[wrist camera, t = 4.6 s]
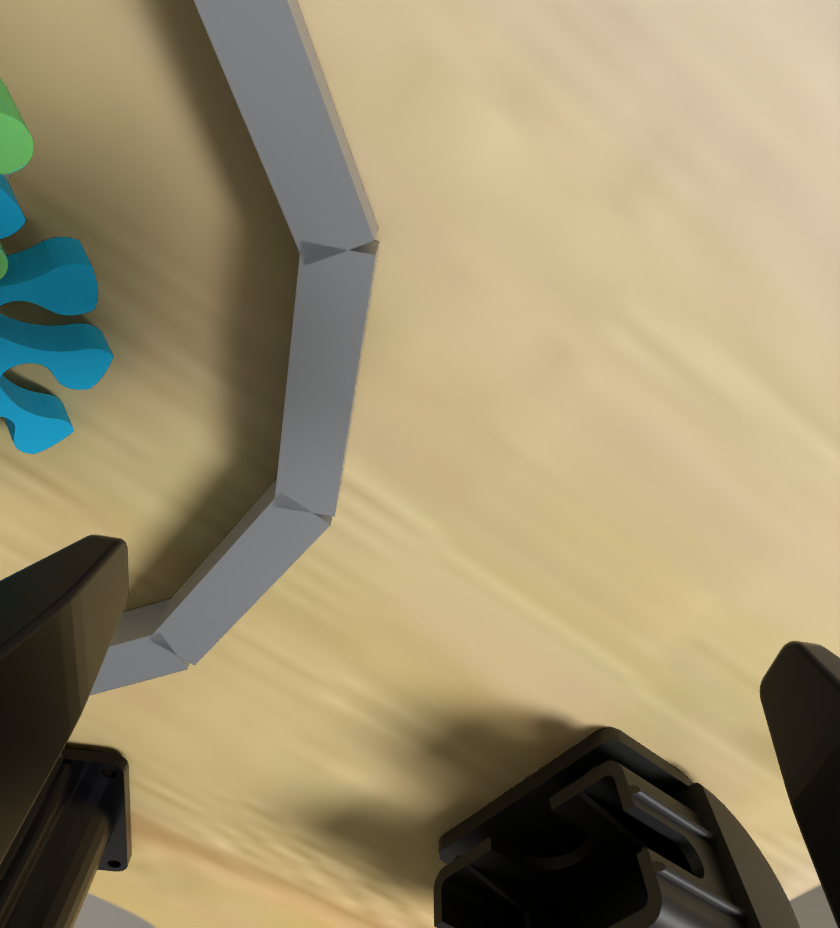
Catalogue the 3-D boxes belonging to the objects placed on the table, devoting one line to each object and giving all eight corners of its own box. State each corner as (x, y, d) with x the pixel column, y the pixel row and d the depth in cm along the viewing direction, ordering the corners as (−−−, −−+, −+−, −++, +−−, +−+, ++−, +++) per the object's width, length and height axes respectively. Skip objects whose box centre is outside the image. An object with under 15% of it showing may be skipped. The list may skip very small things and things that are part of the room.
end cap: (548, 908, 28) (584, 1125, 22) (424, 845, 26) (426, 1068, 20) (743, 798, 24) (849, 1021, 18) (618, 712, 22) (693, 937, 16)
